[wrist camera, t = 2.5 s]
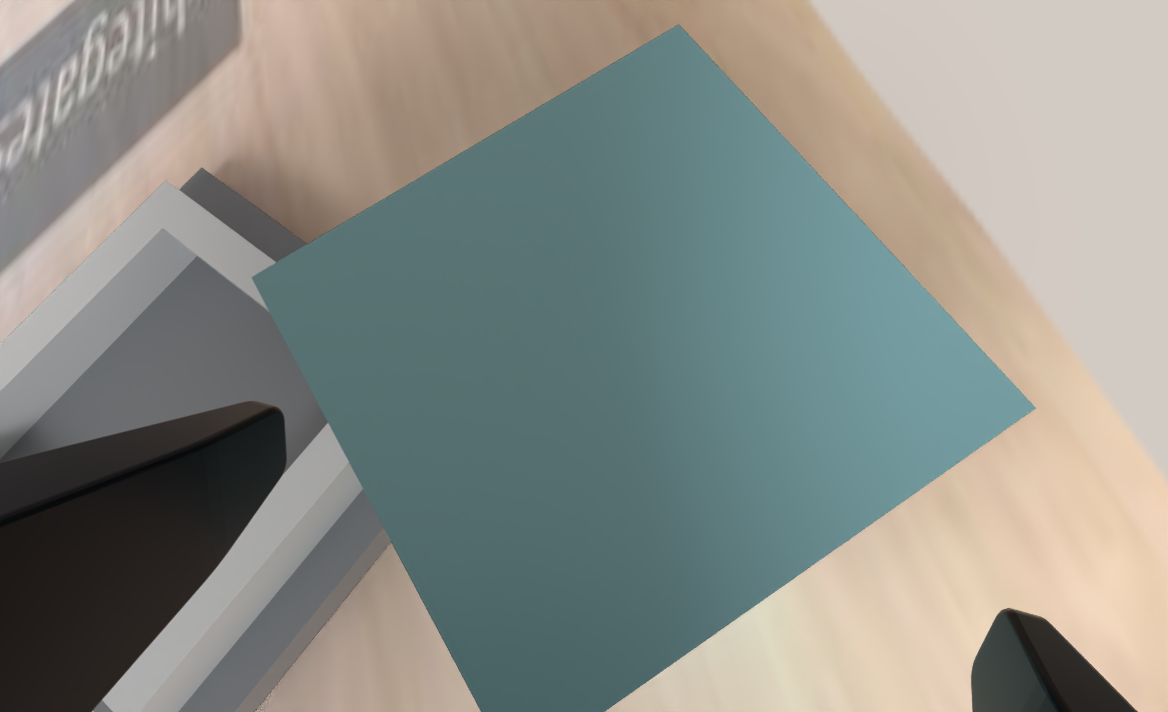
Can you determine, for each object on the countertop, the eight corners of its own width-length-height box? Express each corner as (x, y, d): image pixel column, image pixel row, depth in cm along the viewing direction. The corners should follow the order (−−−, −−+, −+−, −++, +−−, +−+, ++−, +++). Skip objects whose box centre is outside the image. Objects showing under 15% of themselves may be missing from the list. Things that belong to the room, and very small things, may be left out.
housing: (617, 678, 17) (515, 774, 5) (513, 507, 18) (250, 277, 7) (783, 563, 17) (1036, 409, 6) (668, 405, 19) (678, 24, 7)
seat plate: (195, 784, 17) (120, 808, 14) (-78, 489, 20) (-176, 470, 18) (507, 396, 19) (486, 362, 17) (220, 187, 22) (169, 134, 20)
